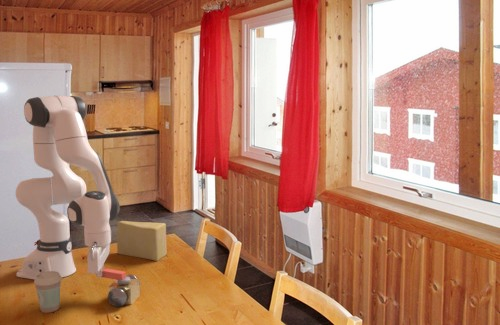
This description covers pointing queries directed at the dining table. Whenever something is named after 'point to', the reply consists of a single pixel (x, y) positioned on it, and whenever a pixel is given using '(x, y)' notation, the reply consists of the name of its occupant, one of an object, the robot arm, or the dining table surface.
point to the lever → (116, 276)
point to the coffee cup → (48, 290)
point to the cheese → (142, 239)
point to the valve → (124, 292)
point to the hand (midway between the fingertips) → (100, 276)
